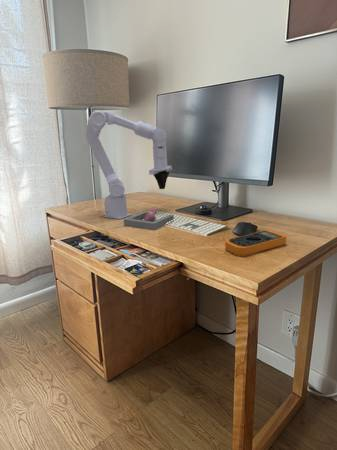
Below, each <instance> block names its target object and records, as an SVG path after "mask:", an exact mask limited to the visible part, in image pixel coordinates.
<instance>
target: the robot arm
mask: <svg viewBox="0 0 337 450" xmlns="http://www.w3.org/2000/svg"><path fill="white" fill-rule="evenodd" d="M106 124H107V126H109V125H110V126H111V125H116V126H118V127H123V128H125V129H129V130H131V131H133V132H134V135H136V136H139V137H141V138H144V139H147V140H151V141H152V154H153V155H152V156H153V157H152V158H153V168H151V169H149V170H148V174H149V176H150V175H153V177H154V178H155V180H156V183H157V185H158V188H159V190H165V188H166V186H167V185H166V184H167V179H168V177H169V175H170V172H169V171H172V170H173V167H172V165H168V157H167V156H168V155H167V154H168V153H167V152H168V151H167V143H166V142H167V141H166V140H167V139H168V135H167V132H166V131H165V129H163V128H159V127H157V125H155V124H154V125H152V124H149V123H147V121H146V120H142V121H141V120H138V121H136V122H135V121H132V120H129V119H128V118H125V117H122V116H120V115H117V114H115V113H111V112H108V111H107V112H106V111H103V110H96V109H95V110H94V111H92V113H91V114H90V115H89V118H88V120H87V126H86V127H87V128H86V132H85V133H86V134H85V138H86V140H87V142H88V145H89V146H90V148H91V150H92V152H93V155H94V157H95V158H96V161H97V163H98V165H99V167H100V169H101V172H102V173H103V175H104V177H105V181H106V182H107V185H108V192H109V195H108V196H106V197H105V198H104V202H103V203H104V204H103V205H104V213H105V215H104V218H108V219H109V218H110V219H116V220H117V219H118V220H121V219H125V218H128V217H129V216H130V217H131V216H133V213H132V212H131V213H129V212H128V206H127V194H125V187H124V184H123V182H122V181H121V180H120V179H119V178H118V176H117V173H116V171H115V170H114V168H113V165H112V163H111V161H110V160H109V158H108V155H107V153H106V151H105V149H104V146H103V145H102V142H101V140H100V139H99V137H100V134H101V132H102V129H103V128H104V126H106Z"/></svg>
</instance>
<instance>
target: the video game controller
mask: <svg viewBox="0 0 337 450" xmlns="http://www.w3.org/2000/svg"><path fill="white" fill-rule="evenodd" d="M157 211H158V209H157V208H155V207H151V208H149V209H148V211H147V212H148V213H147V214H146V215H145V216H144V221H151V222H154V221H155V220H157V216H156V215H157Z"/></svg>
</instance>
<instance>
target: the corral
mask: <svg viewBox="0 0 337 450" xmlns="http://www.w3.org/2000/svg"><path fill="white" fill-rule="evenodd" d="M147 213H148V211H142V212H140V213H137V214H134V215H130V217H129V216H128V217H125V218H123V226H125V227H130V228H138V229H145V230H150V231H156V230H158V229H161V228H163V227H165V226H166V225H165V224H166V223H167V222H169V221H171V220H173V219H175V217H174V214H167V215H165V216H164V217H163V216H162V217H160V218H159V219H155V220H153V221H152V222H151V221H144V220H143V219H144V216H145V215H146V214H147Z"/></svg>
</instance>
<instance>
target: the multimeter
mask: <svg viewBox="0 0 337 450" xmlns="http://www.w3.org/2000/svg"><path fill="white" fill-rule="evenodd" d="M286 242H287V236H286V235H285V234H283V233H280V232H277V231H274V230H270V229H263V230H259V231H256V232H252V233H249V234H244V235H240V236H236V237H230V238H228V239H226V240H225V241H224V247H225V250H226V251H227V252H228V253H231V254H232V255H235V256H237V257H247V256H250V255H253V254H256V253H259V252H260V253H261V252H263V251H267V250H271V249H274V248H278V247H281V246H285V245H286Z"/></svg>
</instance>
